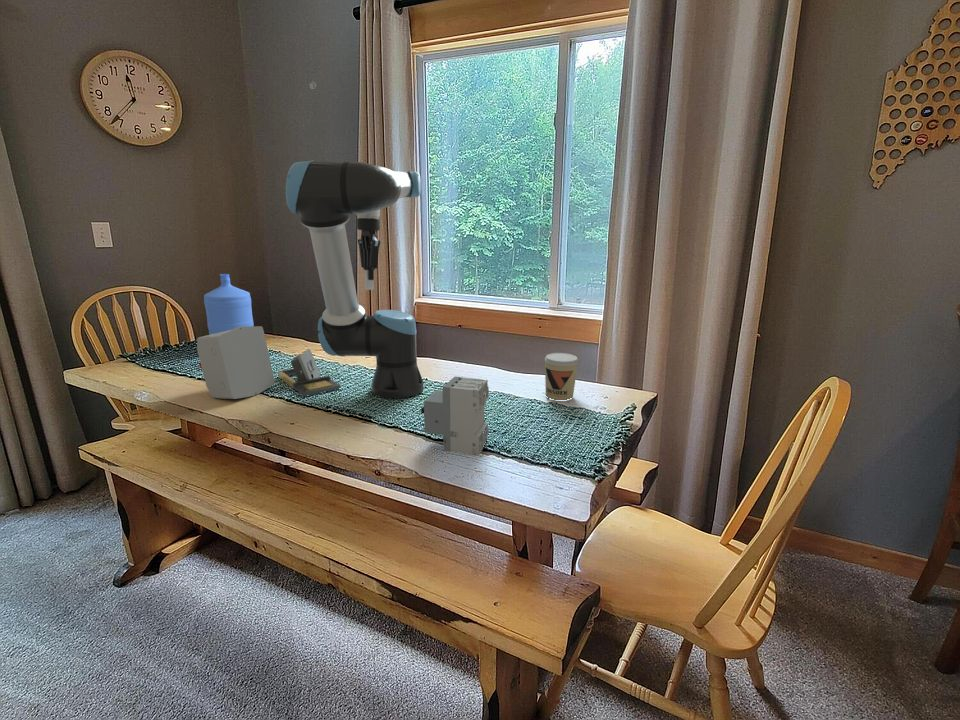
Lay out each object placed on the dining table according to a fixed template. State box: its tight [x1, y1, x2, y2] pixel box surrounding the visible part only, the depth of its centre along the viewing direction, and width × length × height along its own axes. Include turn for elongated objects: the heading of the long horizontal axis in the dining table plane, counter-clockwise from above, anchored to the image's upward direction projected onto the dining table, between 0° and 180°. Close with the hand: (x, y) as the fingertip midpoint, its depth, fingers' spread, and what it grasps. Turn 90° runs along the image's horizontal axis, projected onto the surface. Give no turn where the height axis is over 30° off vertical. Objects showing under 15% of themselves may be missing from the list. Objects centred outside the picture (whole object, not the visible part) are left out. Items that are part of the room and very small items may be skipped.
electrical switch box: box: [196, 325, 276, 400], centre depth 144 cm, size 15×15×20 cm
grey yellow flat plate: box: [277, 368, 342, 397], centre depth 154 cm, size 22×11×2 cm, turn 39°
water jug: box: [203, 273, 255, 335], centre depth 187 cm, size 16×16×28 cm
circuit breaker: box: [420, 376, 490, 456], centre depth 113 cm, size 8×14×15 cm, turn 73°
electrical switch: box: [290, 349, 321, 382], centre depth 155 cm, size 9×5×9 cm, turn 0°
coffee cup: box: [544, 352, 579, 400], centre depth 143 cm, size 9×9×12 cm
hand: (369, 289), depth 172 cm, fingers closed
